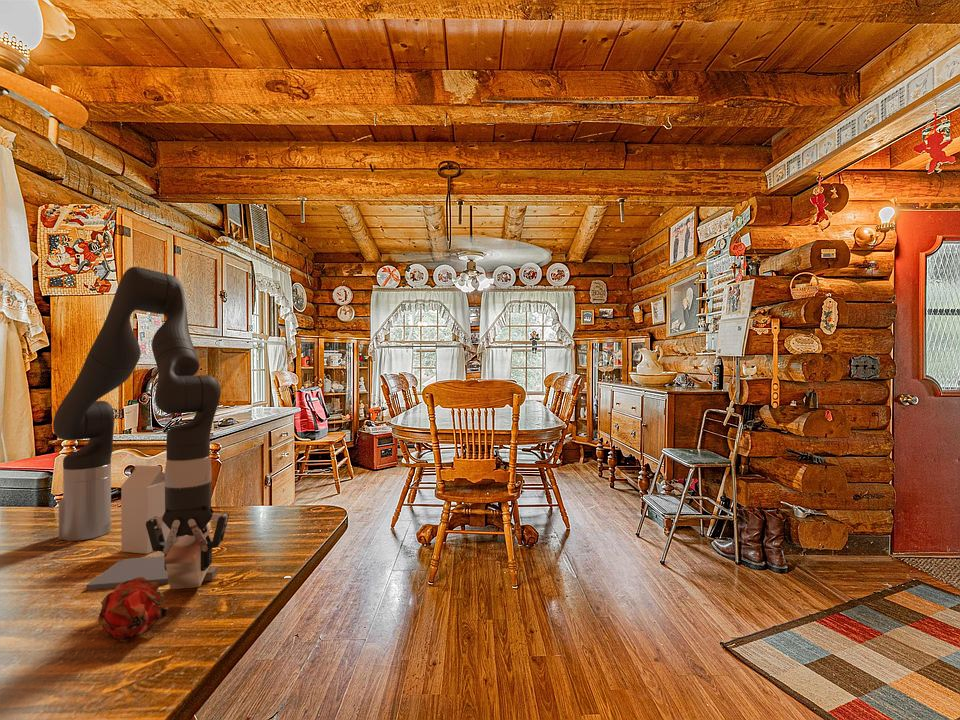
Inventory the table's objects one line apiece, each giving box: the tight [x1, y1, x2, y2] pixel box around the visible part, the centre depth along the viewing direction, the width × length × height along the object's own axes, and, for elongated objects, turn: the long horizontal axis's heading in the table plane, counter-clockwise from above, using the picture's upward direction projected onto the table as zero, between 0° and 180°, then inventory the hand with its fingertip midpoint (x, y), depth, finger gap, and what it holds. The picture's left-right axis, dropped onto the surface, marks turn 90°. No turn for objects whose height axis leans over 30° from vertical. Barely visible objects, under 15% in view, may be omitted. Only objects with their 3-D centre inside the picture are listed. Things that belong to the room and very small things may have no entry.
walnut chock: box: [202, 565, 219, 582], centre depth 94 cm, size 6×3×2 cm, turn 101°
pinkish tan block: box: [165, 535, 209, 590], centre depth 90 cm, size 5×8×9 cm, turn 11°
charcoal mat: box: [85, 555, 169, 591], centre depth 97 cm, size 14×12×1 cm
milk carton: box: [120, 464, 170, 555], centre depth 110 cm, size 7×7×19 cm
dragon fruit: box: [97, 577, 169, 643], centre depth 76 cm, size 8×8×12 cm
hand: (188, 570), depth 90 cm, fingers closed on pinkish tan block, 5 cm apart
